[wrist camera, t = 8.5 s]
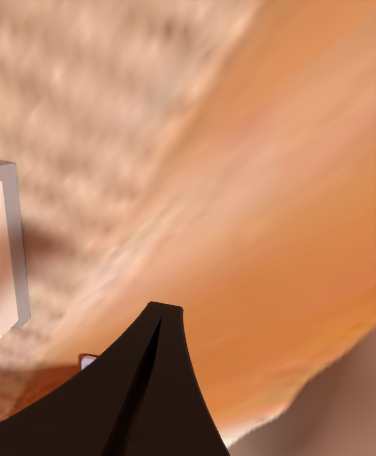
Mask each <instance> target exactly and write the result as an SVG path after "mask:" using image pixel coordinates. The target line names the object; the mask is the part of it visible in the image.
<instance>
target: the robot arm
mask: <svg viewBox="0 0 376 456" xmlns="http://www.w3.org/2000/svg"><path fill="white" fill-rule="evenodd" d="M81 368H82V370H81V371H80V372H79V373H77V374H76V375H75V376H73V377H72V378H70V379H69V380H68V381H66V382H65V383H64V384H62V385H61V386H59V387H58V388H56V389H55V390H53V391H52V392H50V393H49V394H47V395H46V396H44V397H42V398H41V399H39V400H38V401H36V402H34V403H33V404H31V405H30V406H28V407H26V408H25V409H23V410H21V411H20V412H18V413H16V414H15V415H13V416H11V417H9V418H7V419H5V420H4V421H2V422H0V456H230V454H229V452H228V450H227V448H226V446H225V444H224V443H223V441H222V439H221V437H220V434H219V432H218V430H217V428H216V426H215V424H214V422H213V420H212V417H211V415H210V413H209V411H208V409H207V406H206V404H205V401H204V399H203V396H202V394H201V391H200V388H199V385H198V383H197V380H196V377H195V374H194V370H193V367H192V363H191V360H190V356H189V352H188V348H187V343H186V338H185V332H184V325H183V308H182V307H180V306H174V305H169V304H163V303H158V302H152V301H151V302H150V303H148V305H147V306H146V307H145V309H144V310H143V311H142V313H141V314H140V315H139V316H138V317H137V319H136V320H135V321H134V322H133V323H132V324H131V325H130V326H129V327H128V329H127V330H126V331H125V332H124V333H123V334H122V335H121V336H120V337H119V338H118V339H117V340H116V341H115V342H114V343H113V344H112V345H111V346H109V347H108V348H107V349H106V350H105V351H104V352H103V353H102V354H101V355H100V356H98V357H92V356H84V357H83V359H82V361H81Z"/></svg>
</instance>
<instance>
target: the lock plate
mask: <svg viewBox="0 0 376 456" xmlns="http://www.w3.org/2000/svg"><path fill="white" fill-rule="evenodd" d="M30 318H31V317H30V307H29V297H28V286H27V276H26V266H25V256H24V245H23V235H22V225H21V215H20V204H19V194H18V184H17V174H16V164H15V163H13V162H7V161H1V160H0V338H1V337H2V336H3V335H4V334H5V333H6V332H7V331H8V330H9V329H10V328H15V329H20V328H21V327H22V326H23V325H24V324H25V323H26V322H27V321H28V320H29V319H30Z"/></svg>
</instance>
